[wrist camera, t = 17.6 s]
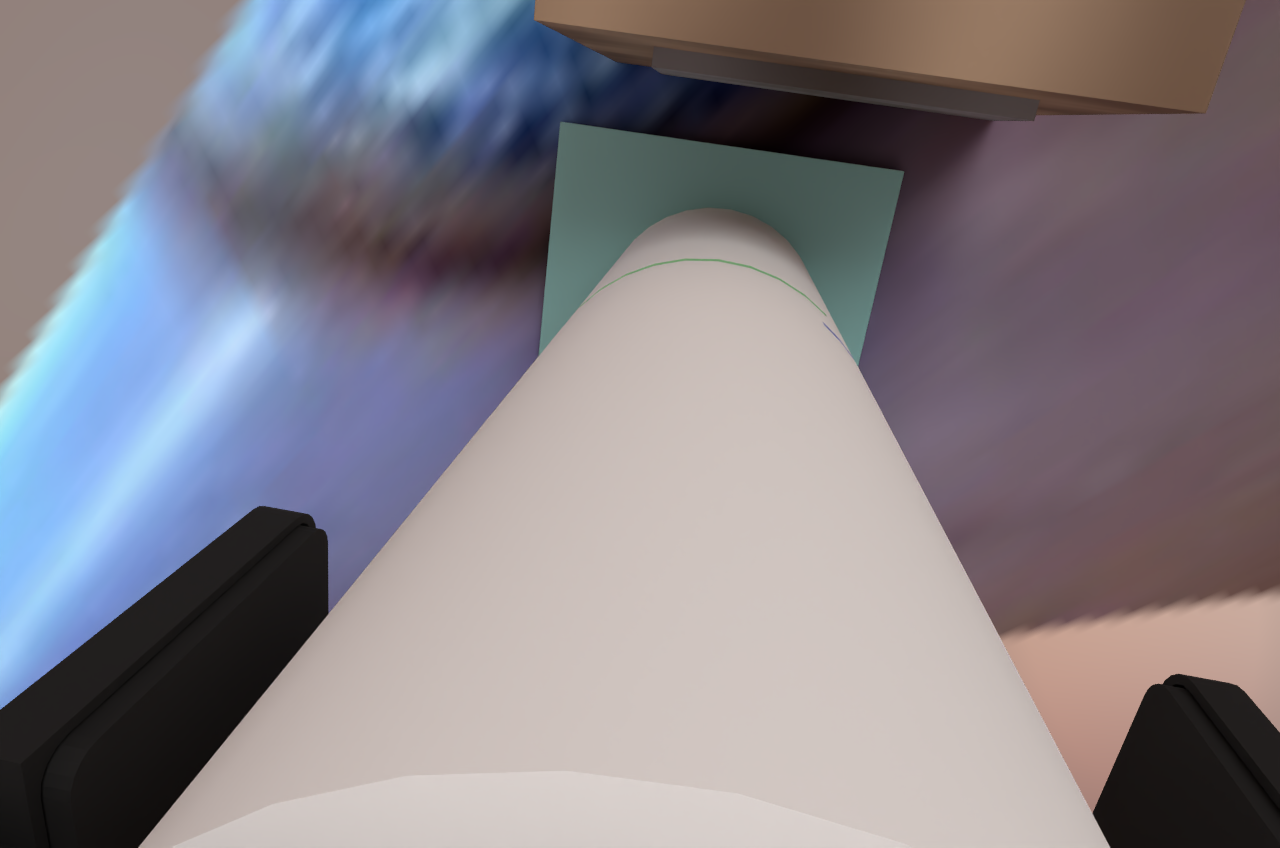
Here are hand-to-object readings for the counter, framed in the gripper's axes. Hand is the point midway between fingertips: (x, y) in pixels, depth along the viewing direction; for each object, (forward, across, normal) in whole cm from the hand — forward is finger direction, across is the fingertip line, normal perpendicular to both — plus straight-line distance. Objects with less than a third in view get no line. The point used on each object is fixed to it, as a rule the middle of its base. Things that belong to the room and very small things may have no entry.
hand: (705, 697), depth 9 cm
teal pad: (+20, +1, 0) cm, 21 cm away
